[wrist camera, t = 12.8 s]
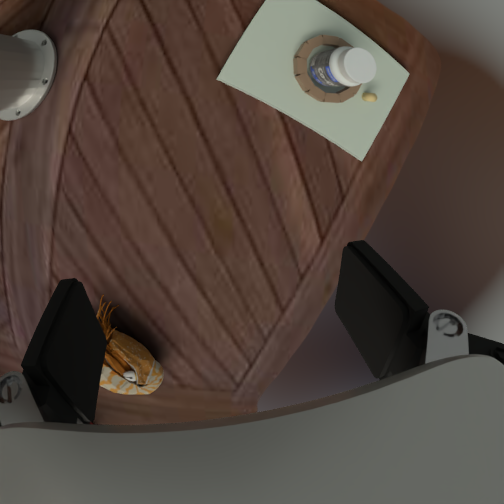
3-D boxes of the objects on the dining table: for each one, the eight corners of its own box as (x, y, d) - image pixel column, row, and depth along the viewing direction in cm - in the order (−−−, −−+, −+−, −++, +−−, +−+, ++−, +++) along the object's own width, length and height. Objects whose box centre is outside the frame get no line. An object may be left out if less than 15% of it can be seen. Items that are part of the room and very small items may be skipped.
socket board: (216, 79, 30) (218, 77, 27) (277, -17, 24) (285, -26, 21) (357, 159, 38) (369, 164, 36) (404, 73, 32) (418, 74, 30)
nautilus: (72, 284, 40) (162, 289, 44) (91, 374, 49) (163, 377, 53) (59, 314, 33) (162, 321, 38) (87, 404, 42) (165, 409, 46)
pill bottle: (302, 73, 30) (332, 69, 23) (318, 45, 28) (352, 34, 21) (333, 93, 32) (368, 95, 25) (348, 65, 30) (386, 62, 23)
